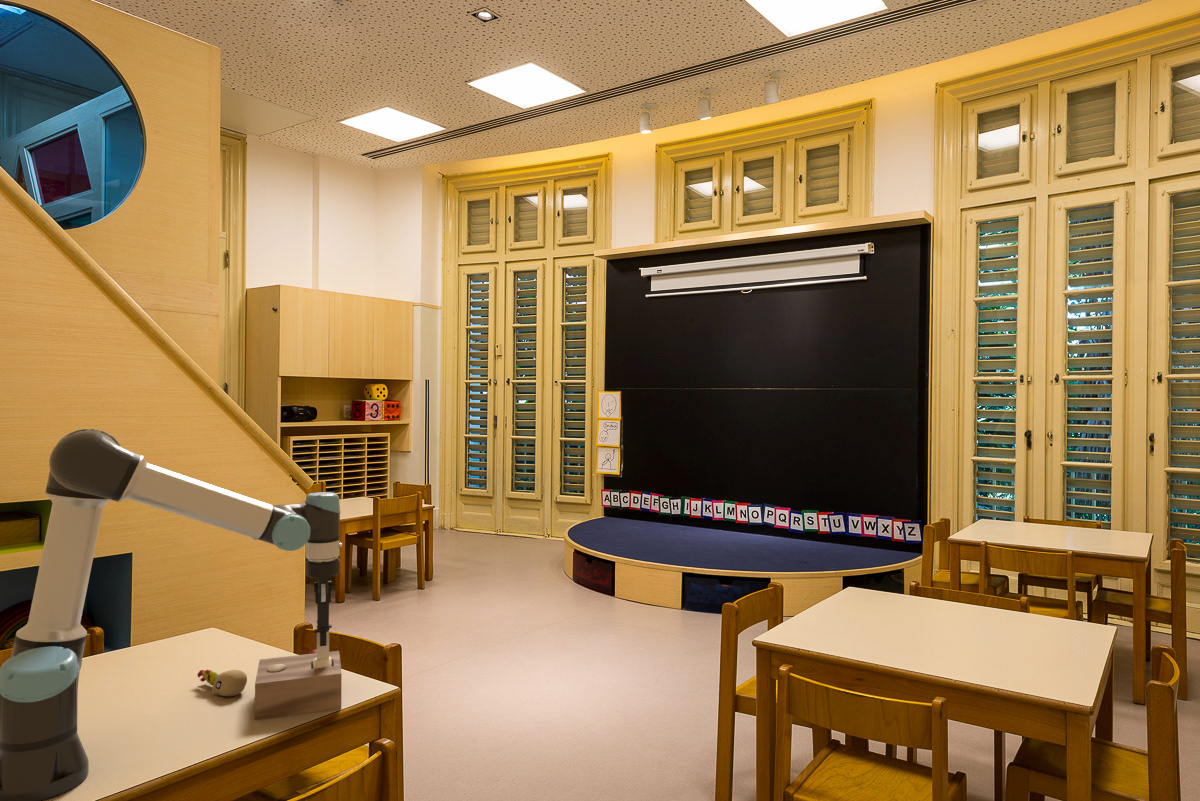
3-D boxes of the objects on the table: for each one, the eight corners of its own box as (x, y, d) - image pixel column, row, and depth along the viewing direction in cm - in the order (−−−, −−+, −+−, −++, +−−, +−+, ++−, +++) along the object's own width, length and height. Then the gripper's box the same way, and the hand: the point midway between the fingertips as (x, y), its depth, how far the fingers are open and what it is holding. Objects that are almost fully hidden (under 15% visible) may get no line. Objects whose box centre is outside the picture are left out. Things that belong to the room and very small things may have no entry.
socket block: (341, 708, 171) (341, 671, 171) (254, 720, 165) (254, 681, 165) (338, 682, 186) (339, 649, 186) (259, 692, 180) (259, 657, 180)
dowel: (331, 694, 176) (331, 660, 176) (313, 697, 175) (313, 662, 174) (331, 688, 180) (331, 655, 180) (313, 690, 178) (313, 657, 178)
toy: (184, 676, 181) (220, 689, 173) (209, 654, 186) (245, 665, 178) (196, 694, 183) (232, 707, 175) (221, 671, 189) (257, 683, 181)
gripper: (340, 563, 172) (340, 665, 172) (338, 551, 184) (338, 647, 185) (305, 565, 169) (305, 669, 170) (306, 553, 182) (306, 650, 182)
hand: (322, 657), depth 177 cm, fingers closed
